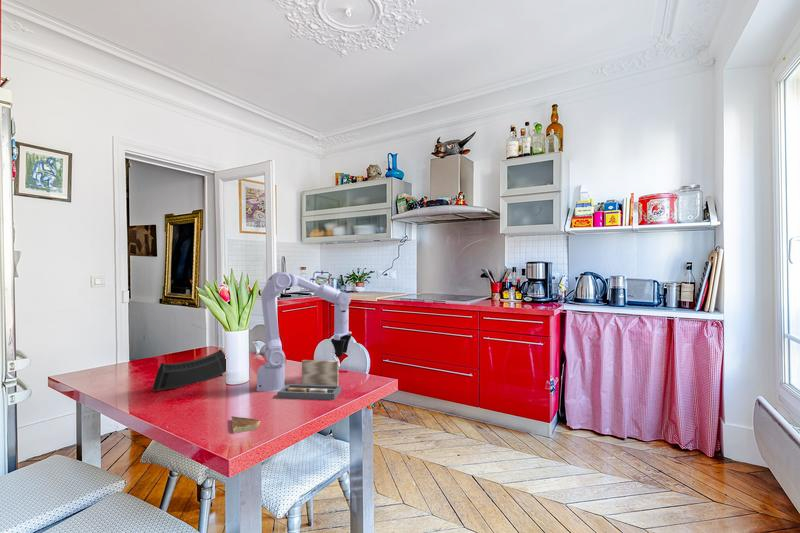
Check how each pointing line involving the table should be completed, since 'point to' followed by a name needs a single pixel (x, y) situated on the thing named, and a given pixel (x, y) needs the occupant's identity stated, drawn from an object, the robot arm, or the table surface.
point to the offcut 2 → (318, 390)
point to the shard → (244, 424)
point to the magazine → (190, 371)
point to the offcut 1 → (297, 389)
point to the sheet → (320, 372)
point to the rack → (330, 395)
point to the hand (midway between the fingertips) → (341, 354)
